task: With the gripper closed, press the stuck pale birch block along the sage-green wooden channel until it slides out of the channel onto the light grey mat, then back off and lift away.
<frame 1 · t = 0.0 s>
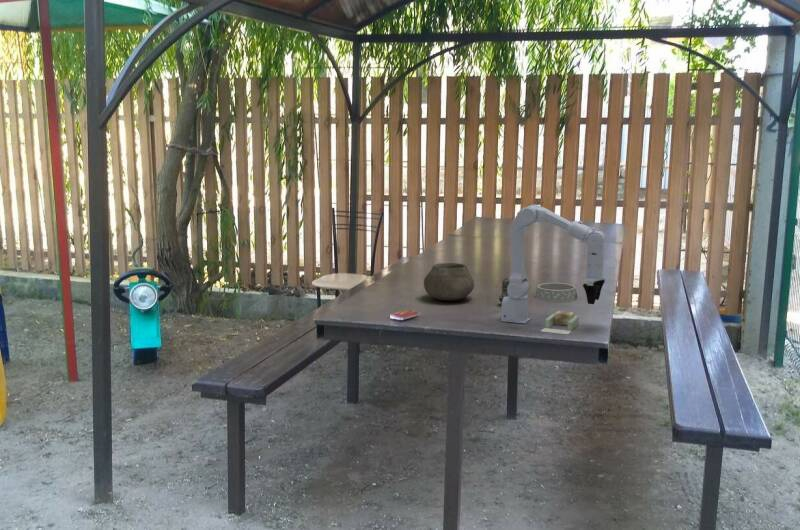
hand: (593, 301, 280), 10 cm above the table, tool pointing down, fingers open, 7 cm apart
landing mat: (556, 331, 278), on the table
dog bowl: (555, 298, 332), on the table
clay pot: (449, 300, 329), on the table
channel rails: (561, 325, 286), on the table
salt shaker: (505, 305, 318), on the table
birch block: (564, 318, 288), point 2 cm above the table, slide at 0.0 cm
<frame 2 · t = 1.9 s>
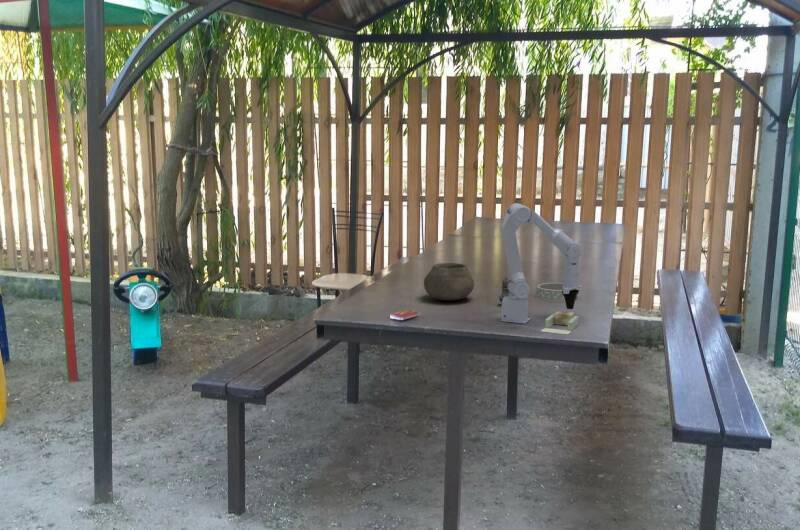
hand: (570, 308, 295), 4 cm above the table, tool pointing down, fingers closed
nothing on the table moved.
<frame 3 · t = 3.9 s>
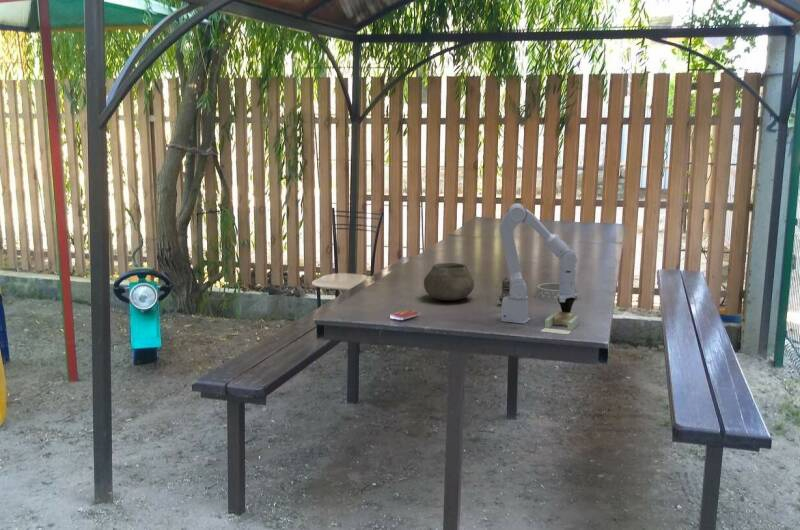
hand: (566, 317, 291), 2 cm above the table, tool pointing down, fingers closed
birch block: (563, 318, 287), point 2 cm above the table, slide at 0.6 cm, touching gripper
everything else where it was.
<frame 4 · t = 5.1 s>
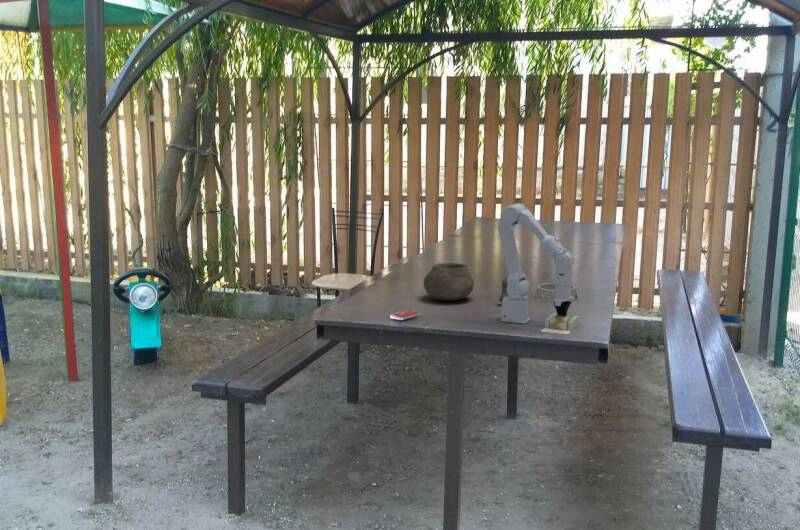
hand: (561, 321, 285), 2 cm above the table, tool pointing down, fingers closed
birch block: (559, 322, 282), point 2 cm above the table, slide at 6.9 cm, touching gripper
everything else where it was.
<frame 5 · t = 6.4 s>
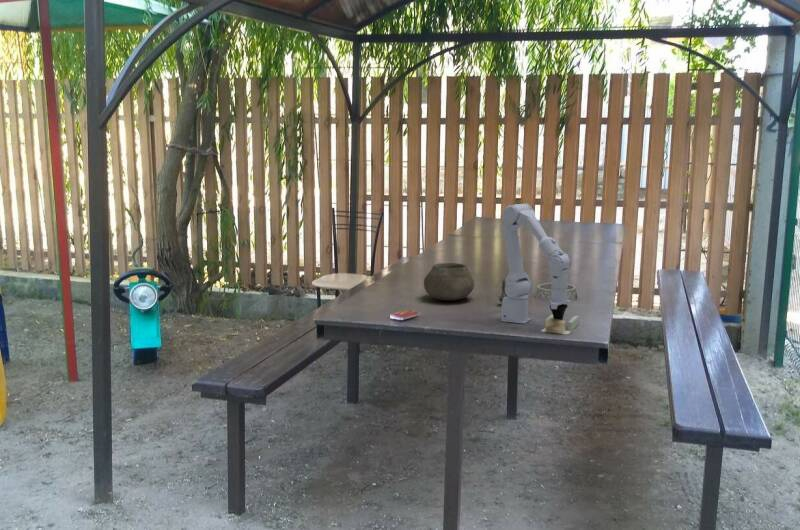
hand: (558, 324, 280), 2 cm above the table, tool pointing down, fingers closed
birch block: (555, 325, 277), point 2 cm above the table, slide at 12.4 cm, touching gripper
everything else where it was.
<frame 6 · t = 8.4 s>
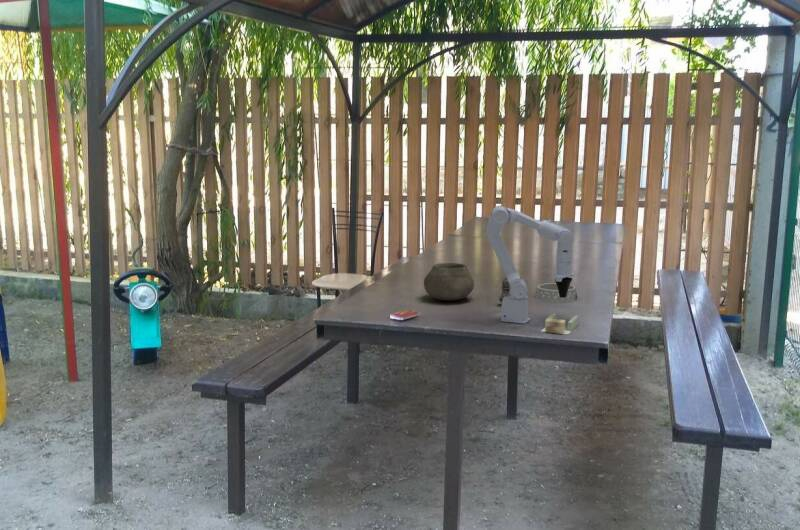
hand: (562, 297, 290), 9 cm above the table, tool pointing down, fingers closed
birch block: (555, 326, 277), point 2 cm above the table, slide at 12.5 cm
everything else where it was.
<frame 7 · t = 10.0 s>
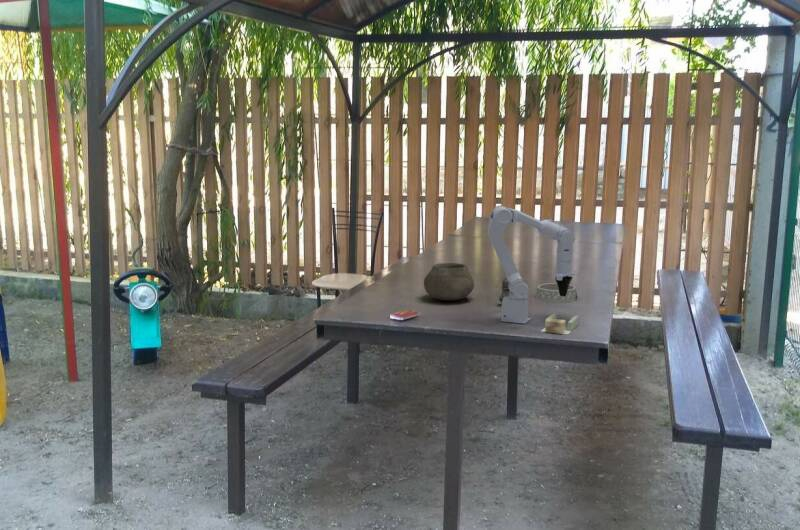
hand: (563, 295, 292), 9 cm above the table, tool pointing down, fingers closed
nothing on the table moved.
at the end: birch block slide at 12.5 cm; birch block moved 12.5 cm from its start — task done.
